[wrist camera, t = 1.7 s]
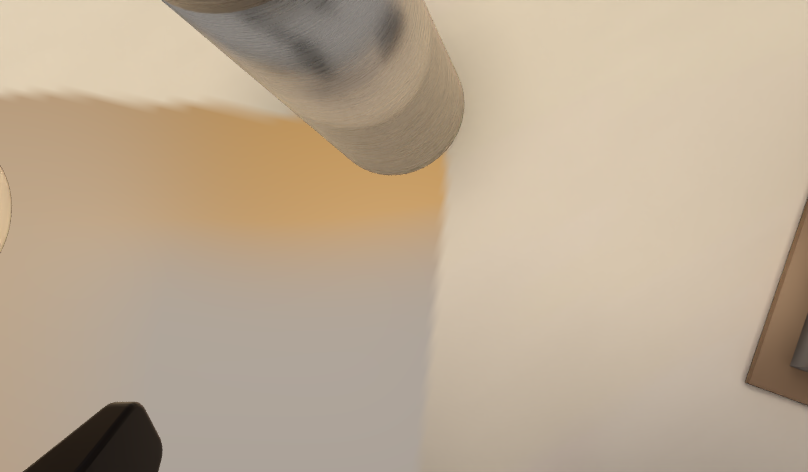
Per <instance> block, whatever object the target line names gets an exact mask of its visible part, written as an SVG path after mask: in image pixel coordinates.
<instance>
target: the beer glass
mask: <svg viewBox="0 0 808 472" xmlns="http://www.w3.org/2000/svg"><path fill="white" fill-rule="evenodd" d="M11 204H12V203H11V194H10V188H9V185H8V181H7V178H6V176H5V173H4V172H3V170H2V168H1V166H0V252H1V250H2V248H3V246H4V244H5V241H6V238H7V235H8V231H9V227H10V222H11V212H12V205H11Z"/></svg>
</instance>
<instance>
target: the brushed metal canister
mask: <svg viewBox="0 0 808 472" xmlns="http://www.w3.org/2000/svg"><path fill="white" fill-rule="evenodd" d="M162 1H163V2H164V3H165V4H167V5H168V6H169V7H170V8H171V9H172V10H174V11H175V12H176V13H177V14H178V15H180V16H181V17H182V18H183V19H184V20H185V21H187V22H188V23H189V24H190V25H191V26H193V27H194V28H195V29H196V30H197V31H198V32H200V33H201V34H202V35H203V36H204V37H206V38H207V39H208V40H209V41H210V42H211V43H213V44H214V45H215V46H216V47H217V48H219V49H220V50H221V51H222V52H223V53H224V54H226V55H227V56H228V57H229V58H230V59H232V60H233V61H234V62H235V63H236V64H237V65H239V66H240V67H241V68H242V69H243V70H245V71H246V72H247V73H248V74H249V75H251V76H252V77H253V78H254V79H255V80H256V81H258V82H259V83H260V84H261V85H262V86H264V87H265V88H266V89H267V90H268V91H269V92H271V93H272V94H273V95H274V96H275V97H277V98H278V99H279V100H280V101H281V102H282V103H284V104H285V105H286V106H287V107H288V108H290V109H291V110H292V111H293V112H294V113H295V114H297V115H298V116H299V117H300V118H301V119H303V120H304V121H305V122H306V123H307V124H308V125H310V126H311V127H312V128H313V129H315V130H316V131H317V132H318V133H319V134H320V135H321V136H323V137H324V138H325V139H326V140H327V141H329V142H330V143H331V144H332V145H333V146H335V147H336V148H337V149H338V150H339V151H341V152H342V153H343V154H344V155H345V156H346V157H348V158H349V159H350V160H351V161H352V162H354V163H355V164H357V165H358V166H360V167H362V168H363V169H366V170H368V171H370V172H374V173H377V174H383V175H400V174H407V173H410V172H414V171H417V170H419V169H421V168H424V167H425V166H427V165H429V164H431V163H432V162H433V161H435V160H436V159H437V158H439V157H440V156H441V155H442V154H443V153H444V152H445V151H446V150H447V148H448V147H449V146H450V145H451V143H452V141H453V140H454V138H455V137H456V135H457V132H458V130H459V128H460V125H461V122H462V118H463V112H464V95H463V90H462V86H461V82H460V80H459V77H458V75H457V73H456V71H455V68H454V66H453V64H452V62H451V60H450V57H449V55H448V53H447V51H446V48H445V46H444V44H443V42H442V40H441V37H440V35H439V33H438V31H437V29H436V26H435V24H434V22H433V20H432V17H431V15H430V13H429V11H428V9H427V6H426V4H425V2H424V0H162Z"/></svg>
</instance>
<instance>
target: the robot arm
mask: <svg viewBox="0 0 808 472" xmlns="http://www.w3.org/2000/svg"><path fill="white" fill-rule="evenodd" d="M161 458H162V443H161V439H160V437H159V435H158V433H157V431H156V430H155V428H154V426H153V424H152V422H151V420H150V418H149V416H148V414H147V412H146V410H145V409H144V407H143V406H142V405H141V404H140V403H138V402H114V403H110V404H108V405H107V406H105V407H104V408H102V409H101V410H100V411H99V412H97V413H96V414H95V415H94V416H92V417H91V418H90V419H89V420H87V421H86V422H85V423H84V424H82V425H81V426H80V427H79V428H77V429H76V430H75V431H74V432H72V433H71V434H70V435H69V436H67V437H66V438H65V439H64V440H62V441H61V442H60V443H59V444H57V445H56V446H55V447H53V448H52V449H51V450H50V451H48V452H47V453H46V454H45V455H43V456H42V457H41V458H40V459H38V460H37V461H36V462H35V463H33V464H32V465H31V466H30V467H28V468H27V469H26V470H25V471H23V472H158V470H159V467H160V463H161Z"/></svg>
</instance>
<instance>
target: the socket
mask: <svg viewBox="0 0 808 472" xmlns="http://www.w3.org/2000/svg"><path fill="white" fill-rule="evenodd" d="M745 382H746V383H748V384H751V385H754V386H757V387H759V388H762V389H765V390H768V391H770V392H773V393H776V394H778V395H781V396H784V397H787V398H789V399H792V400H795V401H798V402H800V403H803V404H806V405H808V199H807V202H806V205H805V208H804V211H803V214H802V217H801V220H800V223H799V226H798V229H797V232H796V235H795V237H794V240H793V243H792V246H791V249H790V252H789V255H788V258H787V261H786V264H785V267H784V270H783V273H782V276H781V278H780V281H779V284H778V287H777V290H776V293H775V296H774V299H773V302H772V305H771V308H770V311H769V314H768V317H767V319H766V322H765V325H764V328H763V331H762V334H761V337H760V340H759V343H758V346H757V349H756V352H755V355H754V358H753V360H752V363H751V366H750V369H749V372H748V375H747V378H746V381H745Z"/></svg>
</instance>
